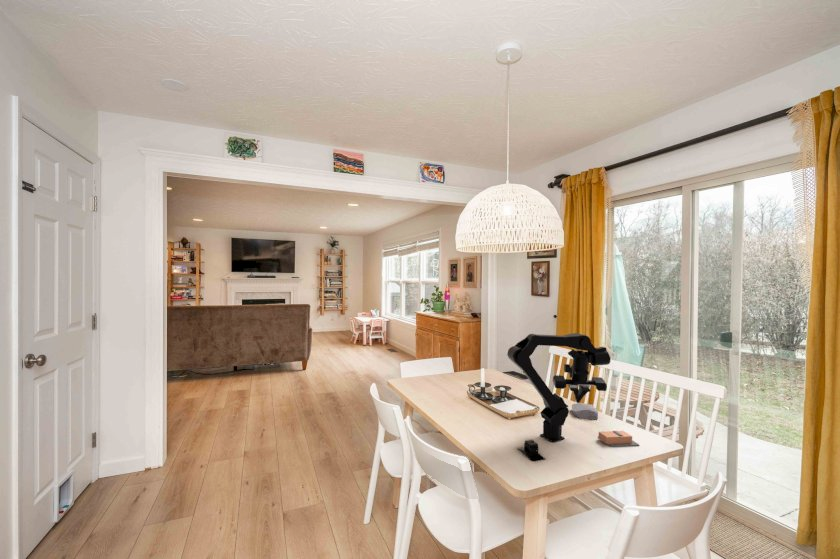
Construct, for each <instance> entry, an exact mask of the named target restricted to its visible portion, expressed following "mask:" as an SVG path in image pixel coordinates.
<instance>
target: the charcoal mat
mask: <svg viewBox="0 0 840 559" xmlns="http://www.w3.org/2000/svg"><path fill="white" fill-rule="evenodd" d="M597 438H598V439H599V435H598V436H597ZM607 445H608V446H609V447H611V448H615V447H618V448H620V447H639V446H640V444H639V443H638V442H636V441H634V440H633V439H632V443H622V444H607Z"/></svg>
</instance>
